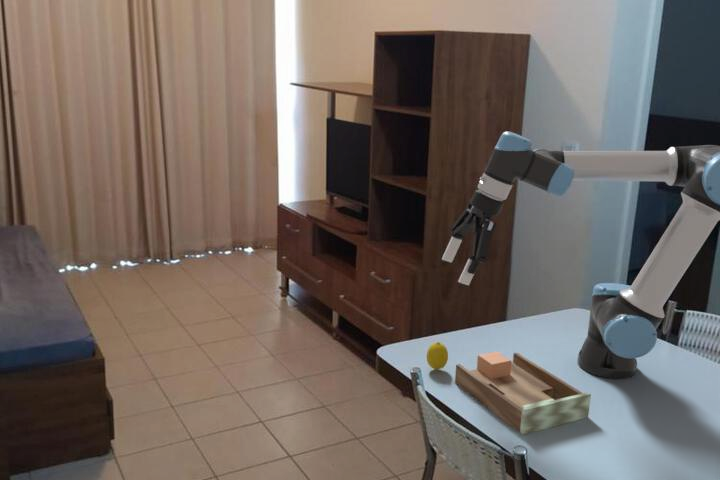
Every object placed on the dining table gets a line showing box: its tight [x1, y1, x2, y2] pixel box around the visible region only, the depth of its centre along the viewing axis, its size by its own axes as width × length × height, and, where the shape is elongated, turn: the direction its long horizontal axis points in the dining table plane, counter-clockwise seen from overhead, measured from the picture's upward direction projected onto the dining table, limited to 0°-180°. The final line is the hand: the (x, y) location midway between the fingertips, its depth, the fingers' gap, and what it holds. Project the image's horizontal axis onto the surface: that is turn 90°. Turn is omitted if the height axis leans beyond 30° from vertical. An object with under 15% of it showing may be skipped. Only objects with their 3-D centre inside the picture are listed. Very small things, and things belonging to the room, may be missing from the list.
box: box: [454, 352, 592, 435], centre depth 171 cm, size 19×27×6 cm
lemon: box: [426, 341, 449, 371], centre depth 185 cm, size 6×6×8 cm
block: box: [476, 350, 513, 379], centre depth 180 cm, size 6×6×4 cm
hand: (454, 271), depth 176 cm, fingers open, 13 cm apart
